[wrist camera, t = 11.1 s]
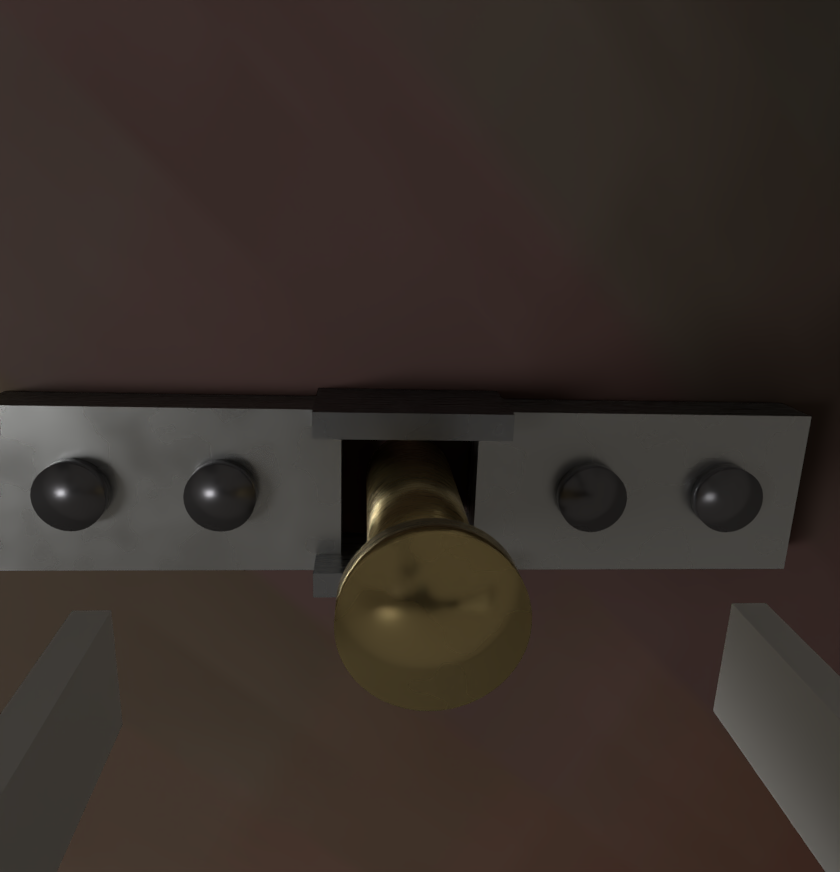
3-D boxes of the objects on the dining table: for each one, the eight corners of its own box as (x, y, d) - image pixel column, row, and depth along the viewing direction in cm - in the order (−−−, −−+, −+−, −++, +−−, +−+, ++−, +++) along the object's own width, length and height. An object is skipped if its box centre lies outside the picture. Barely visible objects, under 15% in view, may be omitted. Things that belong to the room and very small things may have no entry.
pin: (345, 413, 28) (334, 533, 17) (474, 415, 28) (539, 534, 18) (344, 533, 29) (333, 711, 19) (467, 534, 30) (524, 710, 19)
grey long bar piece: (23, 554, 29) (-22, 599, 25) (2, 383, 27) (-50, 407, 23) (756, 553, 31) (804, 594, 27) (783, 395, 29) (838, 419, 26)
